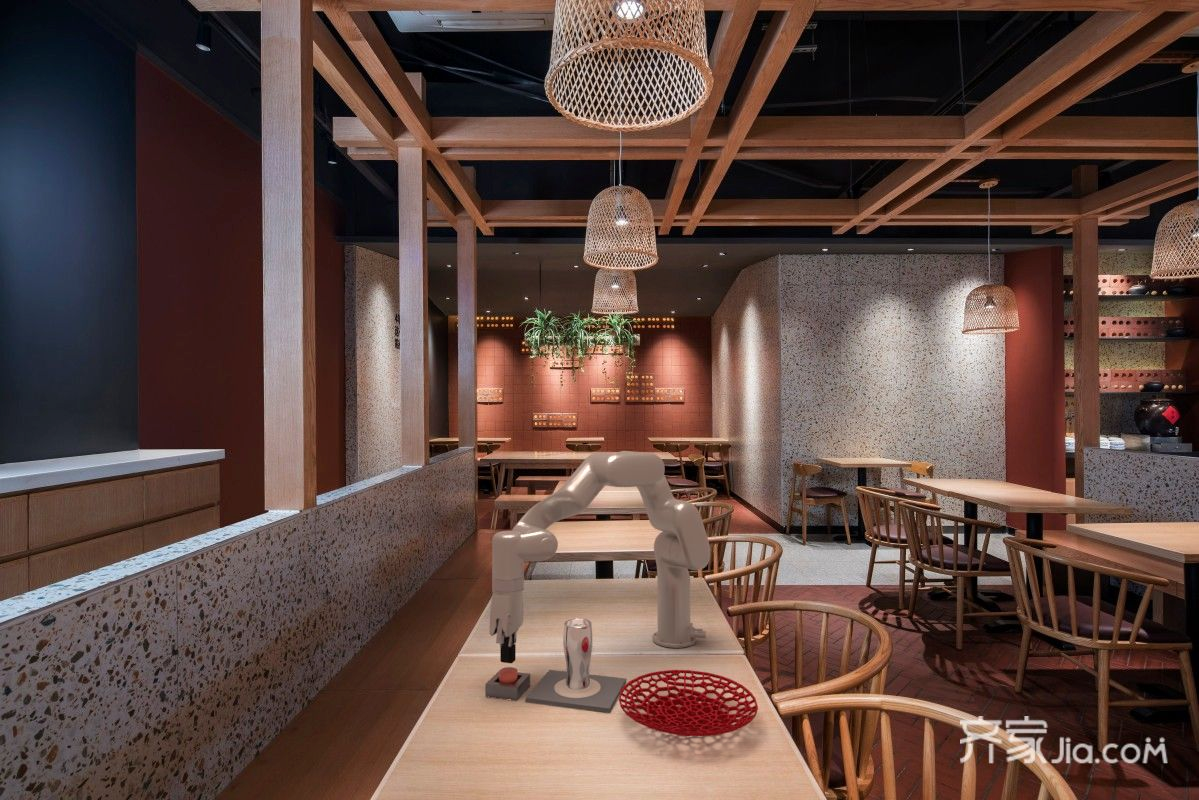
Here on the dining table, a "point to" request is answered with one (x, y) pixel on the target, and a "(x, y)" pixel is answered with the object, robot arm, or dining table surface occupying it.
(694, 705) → the bowl
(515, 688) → the button housing
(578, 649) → the beer glass
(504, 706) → the dining table surface
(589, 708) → the grey rectangular board
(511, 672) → the button
